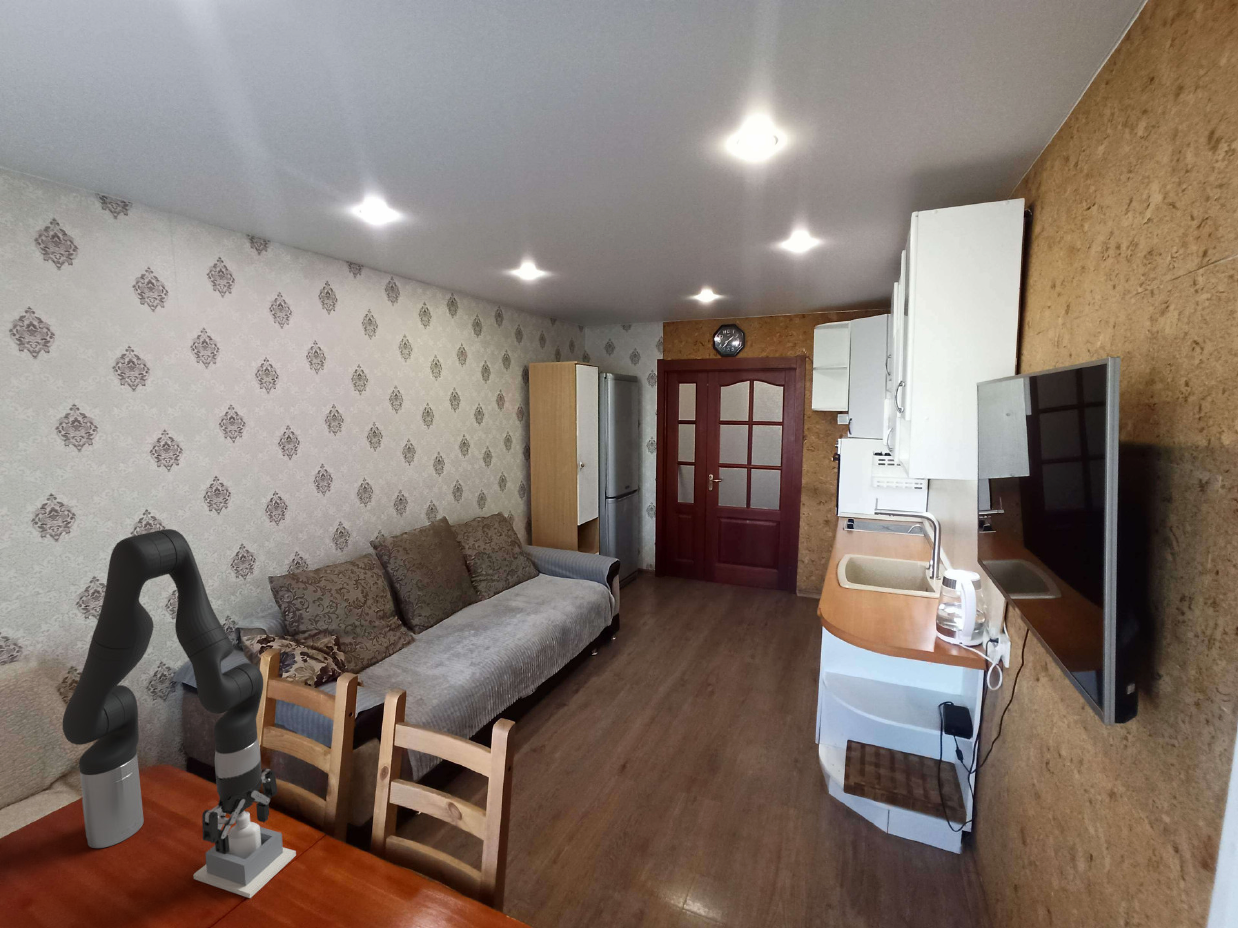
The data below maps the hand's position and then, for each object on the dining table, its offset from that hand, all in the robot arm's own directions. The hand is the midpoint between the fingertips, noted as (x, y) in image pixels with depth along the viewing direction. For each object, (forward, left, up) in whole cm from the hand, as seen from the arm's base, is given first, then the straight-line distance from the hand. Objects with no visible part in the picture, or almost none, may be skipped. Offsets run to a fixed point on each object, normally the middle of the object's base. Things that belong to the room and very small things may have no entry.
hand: (243, 835), depth 111 cm
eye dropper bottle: (0, 0, -6) cm, 6 cm away
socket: (0, 0, -7) cm, 7 cm away
